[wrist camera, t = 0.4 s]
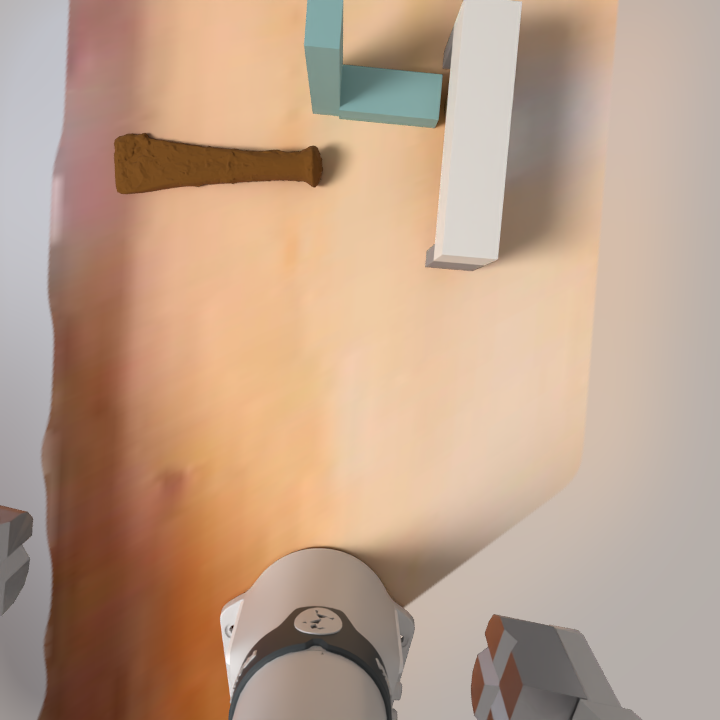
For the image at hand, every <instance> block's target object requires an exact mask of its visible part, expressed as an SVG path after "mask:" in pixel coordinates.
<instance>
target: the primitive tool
mask: <svg viewBox="0 0 720 720" xmlns="http://www.w3.org/2000/svg"><path fill="white" fill-rule="evenodd" d="M114 146H115V154H114V161H115V181H116V188H117V192H119V193H121V194H132V193H144V192H151V191H157V190H162V189H169V188H175V187H183V186H196V187H199V186H201V185H204V184H210V185H211V184H224V183H232V184H234V183H238V182H252V181H255V182H257V181H271V180H283V181H284V180H288V181H298V182H299V181H304V182H307V183H308V184H310V185H311V186H312V187H316V186H317V185H318V183H319V181H320V180H321V175H322V171H323V167H322V158H321V156H320V153H319V151H318V148H317V147H316V146H309V147H308V148H307V149H304V150H302V151H293V152H284V151H280V150H269V151H247V150H246V151H243V150H237V149H223V148H214V147H210V146H209V147H202V146H197V145H188V144H184V143H174V142H169V141H165V140H156V139H151V138H149V137H148V135H147V134H146V133H142V134H138V135H135V134H126V135H124V136H119V137H118V138H117V139H116V140H115V142H114Z"/></svg>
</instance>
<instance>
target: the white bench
mask: <svg viewBox="0 0 720 720" xmlns="http://www.w3.org/2000/svg"><path fill="white" fill-rule="evenodd" d="M521 8H522V2H520V1H511V0H463V3H462V5H461V8H460V11H459V13H458V16H457V19H456V21H455V24H454V27H453V29H452V32H451V35H450V37H449V40H448V43H447V45H446V48H445V51H444V58H443V69H450V79H449V90H448V101H447V113H446V124H445V135H444V147H443V158H442V170H441V181H440V192H439V204H438V215H437V226H436V238H435V244H434V245H433V246H432V247H431V248H430V249H429V250H427V253H426V265H425V267H431V268H442V269H454V270H465V271H473V270H475V269H478V268H480V267H482V266H484V265H487V264H489V263H491V262H493V261H496V260H498V252H499V242H500V231H501V221H502V210H503V199H504V189H505V178H506V167H507V157H508V146H509V136H510V125H511V114H512V104H513V93H514V83H515V72H516V61H517V51H518V40H519V29H520V19H521Z"/></svg>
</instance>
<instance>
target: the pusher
mask: <svg viewBox="0 0 720 720" xmlns="http://www.w3.org/2000/svg"><path fill="white" fill-rule="evenodd" d="M304 48H305V56H306V64H307V72H308V79H309V87H310V95H311V103H312V111H313V114H323V115H333V116H339V119H346V120H357V121H367V122H377V123H387V124H398V125H408V126H418V127H428V128H435V126H436V124H437V122H438V120H439V110H440V98H441V87H442V74H432V73H422V72H412V71H402V70H393V69H383V68H373V67H363V66H353V65H343V0H308V1H307V14H306V28H305V41H304Z"/></svg>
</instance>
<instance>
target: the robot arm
mask: <svg viewBox="0 0 720 720" xmlns="http://www.w3.org/2000/svg"><path fill="white" fill-rule="evenodd" d="M32 527H33V518H32V516H31V515H30V514H29V513H28V512H26V511H22V510H17V509H13V508H9V507H5V506H1V505H0V616H2V615H3V614H4V613H5V612H6V611H7V610H8V609H9V607H10V606H11V605H12V604H13V603H14V601H15V600H16V598H17V596H18V595H19V593H20V591H21V589H22V588H23V586H24V584H25V580H26V577H27V574H28V570H29V561H30V557H29V556H28V554H27V553H26V551H25V549H24V547H23V545H22V544H23V543H24V542H25V541H26V540H27V539H29V537H31V536H32ZM220 623H221V630H222V638H223V645H224V653H225V660H226V667H227V675H228V682H229V690H230V697H231V700H230V703H231V706H230V710H229V720H397V711H396V710H395V709H392V705H393V702H394V700H400V698H401V693H402V684H401V683H400V678H401V675H402V672H403V668H404V664H405V661H406V658H407V654H408V651H409V648H410V644H411V641H412V638H413V634H414V628H415V627H414V619H413V617H412V616H411V615H410V614H409V613H408V612H407V611H406V610H405V609H404V608H403V607H401V606H400V605H399V604H397V603H396V602H394V601H393V600H392V598H391V597H390V596H389V594H388V593H387V591H386V589H385V587H384V585H383V584H382V582H381V580H380V579H379V578H378V576H377V575H376V574H375V573H374V572H373V570H371V569H370V568H369V567H368V566H367V565H366V564H365V563H363V562H362V561H360V560H359V559H357V558H355V557H354V556H352V555H349V554H347V553H344V552H341V551H338V550H333V549H326V548H312V549H305V550H301V551H297V552H294V553H291V554H289V555H286V556H284V557H282V558H281V559H279V560H277V561H276V562H275V563H273V564H272V565H271V566H269V567H268V568H267V569H266V570H265V571H264V572H263V573H262V574H261V575H260V577H259V578H258V579H257V581H256V582H255V583H254V584H253V586H252V587H251V588H250V589H249V590H248V591H247V592H245V593H243V594H241V595H239V596H238V597H236V598H234V599H232V600H231V601H229V602H228V603H227V604H226V605H225V606H224V607H223V609H222V612H221V616H220ZM232 625H234V627H233V629H232V627H231V626H232ZM400 635H402V636H403V637H402V638H400ZM485 636H486V639H487V643H488V647H487V648H486V649H485V650H483V651H482V652H481V653H479V654H478V655H477V659H476V662H475V665H474V669H473V674H472V683H471V698H472V706H473V711H474V716H475V717H476V718H477V720H642V719H641V718H640V717H639V716H638V715H636V714H635V713H634V712H633V711H632V710H630V709H625V708H622V707H621V705H620V703H619V701H618V699H617V698H616V696H615V694H614V692H613V690H612V688H611V686H610V684H609V683H608V681H607V679H606V677H605V675H604V673H603V671H602V669H601V667H600V666H599V664H598V662H597V660H596V658H595V656H594V654H593V652H592V650H591V648H590V647H589V645H588V643H587V641H586V639H585V637H584V635H583V634H582V633H580V632H579V631H578V630H575V629H569V628H563V627H558V626H553V625H549V626H548V625H544V624H538V623H534V622H529V621H524V620H519V619H514V618H510V617H505V616H500V615H495V614H494V615H493V616H492V618H491V619H490V621H489V623H488V626H487V629H486V631H485Z"/></svg>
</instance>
